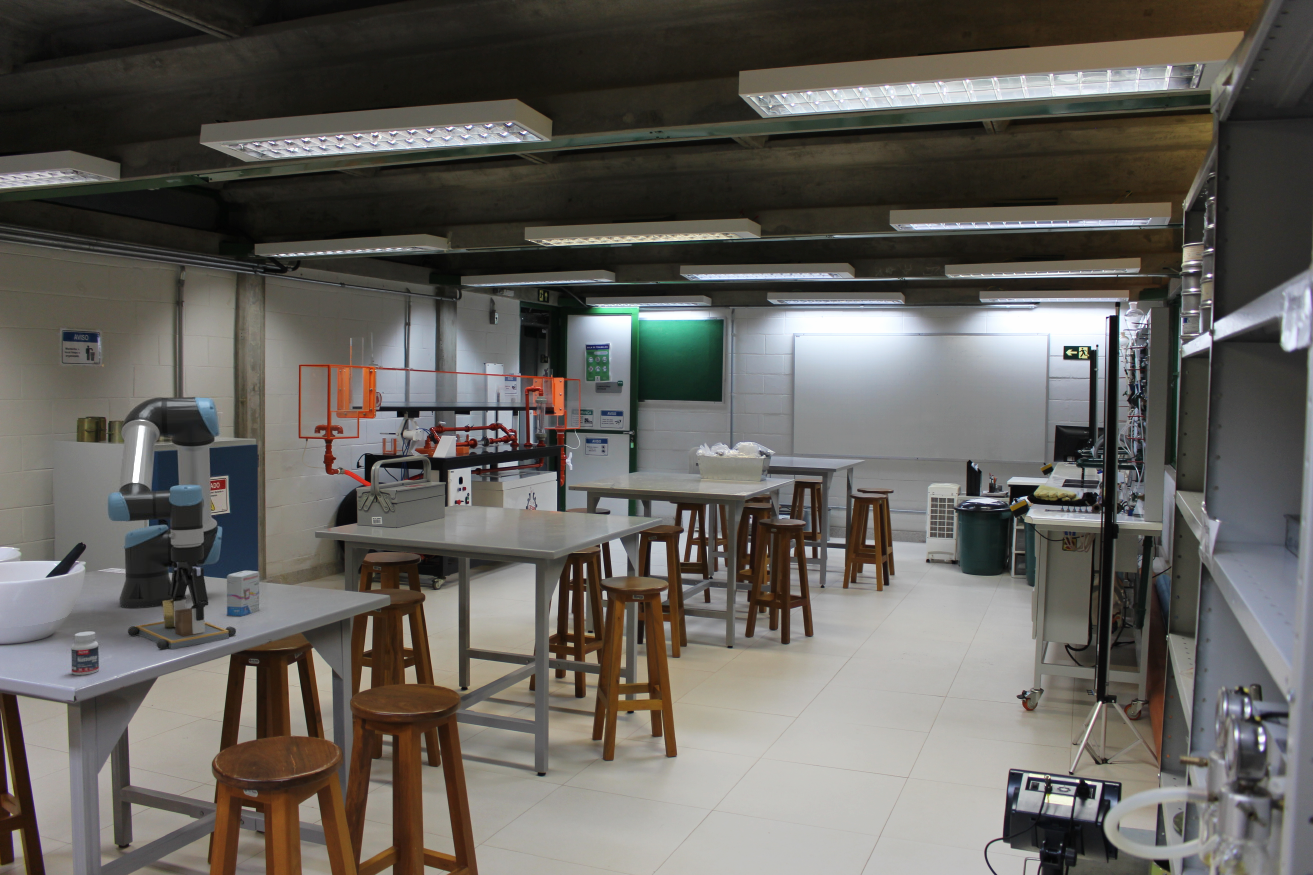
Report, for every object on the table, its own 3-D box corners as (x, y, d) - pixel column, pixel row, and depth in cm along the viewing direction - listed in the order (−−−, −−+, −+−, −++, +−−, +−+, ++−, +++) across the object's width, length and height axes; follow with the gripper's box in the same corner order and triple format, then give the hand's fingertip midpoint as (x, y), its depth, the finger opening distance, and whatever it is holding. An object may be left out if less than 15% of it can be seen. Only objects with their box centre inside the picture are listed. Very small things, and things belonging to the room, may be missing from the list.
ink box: (241, 616, 261) (240, 575, 260) (226, 615, 262) (225, 575, 261) (260, 610, 269) (259, 570, 269) (245, 609, 270) (244, 569, 270)
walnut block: (175, 633, 236) (174, 610, 236) (195, 629, 240) (194, 607, 239) (182, 636, 232) (182, 613, 232) (203, 632, 236) (202, 610, 236)
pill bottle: (75, 676, 204) (74, 637, 203) (68, 672, 207) (67, 633, 207) (102, 671, 208) (101, 633, 207) (94, 667, 211) (93, 629, 211)
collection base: (125, 635, 240) (125, 626, 240) (200, 621, 255) (200, 613, 254) (160, 651, 224) (160, 641, 224) (238, 636, 239) (238, 627, 238)
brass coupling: (162, 627, 242) (160, 601, 243) (179, 624, 246) (177, 598, 246) (168, 627, 239) (166, 601, 240) (185, 624, 243) (183, 598, 243)
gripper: (154, 542, 240) (156, 624, 241) (190, 551, 225) (192, 639, 225) (184, 538, 246) (186, 619, 247) (221, 547, 230) (223, 633, 231)
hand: (189, 628), depth 236 cm, fingers open, 11 cm apart
